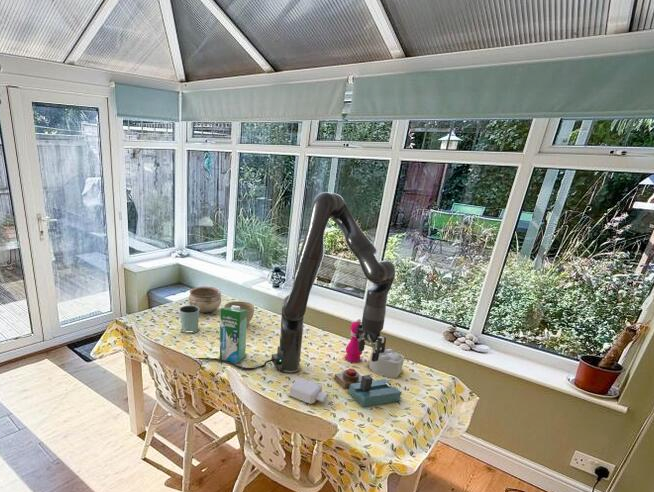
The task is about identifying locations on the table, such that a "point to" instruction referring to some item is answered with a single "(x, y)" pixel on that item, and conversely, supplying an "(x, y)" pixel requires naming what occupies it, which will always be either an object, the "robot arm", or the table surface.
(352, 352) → the pepper mill
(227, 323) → the milk carton
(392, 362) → the lumpy-topped squat cylinder
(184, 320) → the grey-green cylindrical pot
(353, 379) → the panel
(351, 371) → the button
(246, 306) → the planter bowl
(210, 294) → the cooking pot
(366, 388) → the slider
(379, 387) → the control base
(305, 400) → the charger
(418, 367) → the table surface
